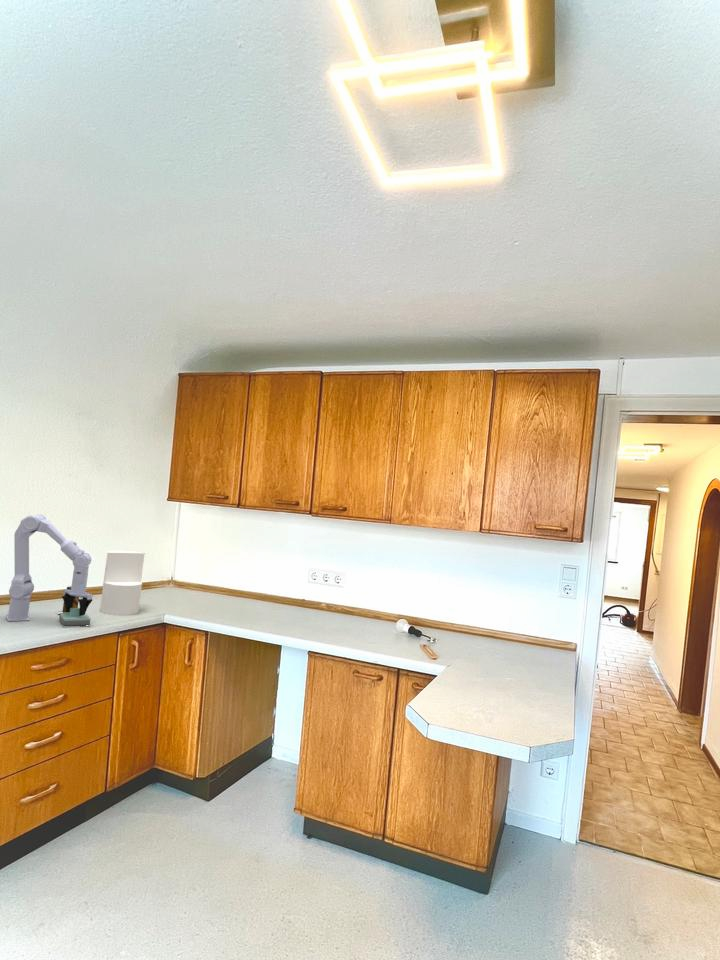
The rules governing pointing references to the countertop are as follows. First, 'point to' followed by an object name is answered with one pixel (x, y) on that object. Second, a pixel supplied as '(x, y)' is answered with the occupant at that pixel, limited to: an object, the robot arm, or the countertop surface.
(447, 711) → the countertop surface
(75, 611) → the lid
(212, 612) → the countertop surface
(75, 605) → the condiment
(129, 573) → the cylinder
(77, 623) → the grey tray
